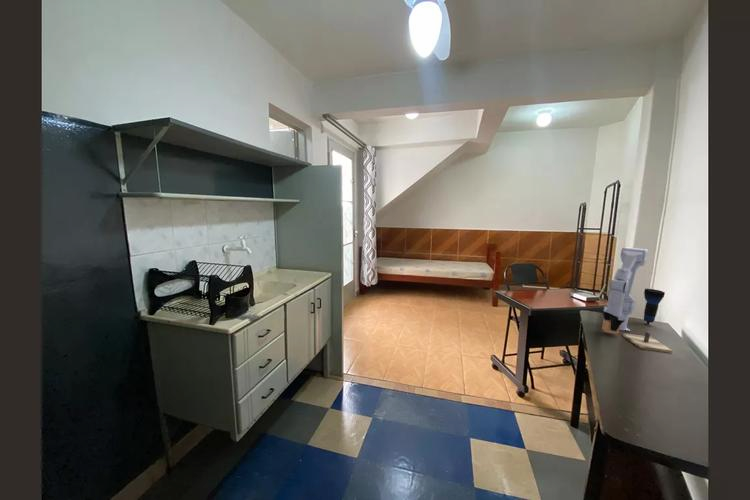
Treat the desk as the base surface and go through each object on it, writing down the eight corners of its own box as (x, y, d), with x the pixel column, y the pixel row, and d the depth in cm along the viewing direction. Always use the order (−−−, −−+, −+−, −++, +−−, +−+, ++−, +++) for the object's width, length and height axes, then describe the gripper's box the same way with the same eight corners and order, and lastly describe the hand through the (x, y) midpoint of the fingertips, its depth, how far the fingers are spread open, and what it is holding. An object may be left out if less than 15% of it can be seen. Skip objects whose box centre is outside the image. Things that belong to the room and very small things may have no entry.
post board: (622, 335, 141) (624, 324, 141) (651, 339, 138) (653, 328, 137) (639, 348, 128) (642, 336, 127) (671, 353, 125) (674, 341, 124)
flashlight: (651, 322, 160) (658, 289, 157) (661, 328, 152) (668, 293, 149) (634, 320, 162) (641, 287, 159) (643, 326, 154) (650, 291, 151)
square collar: (601, 328, 145) (603, 319, 144) (613, 330, 144) (614, 321, 143) (606, 332, 140) (608, 323, 139) (618, 334, 139) (620, 324, 138)
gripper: (598, 297, 147) (594, 321, 150) (613, 306, 134) (608, 333, 136) (614, 299, 146) (610, 323, 148) (631, 308, 132) (626, 335, 134)
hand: (610, 328), depth 142 cm, fingers closed on square collar, 5 cm apart
